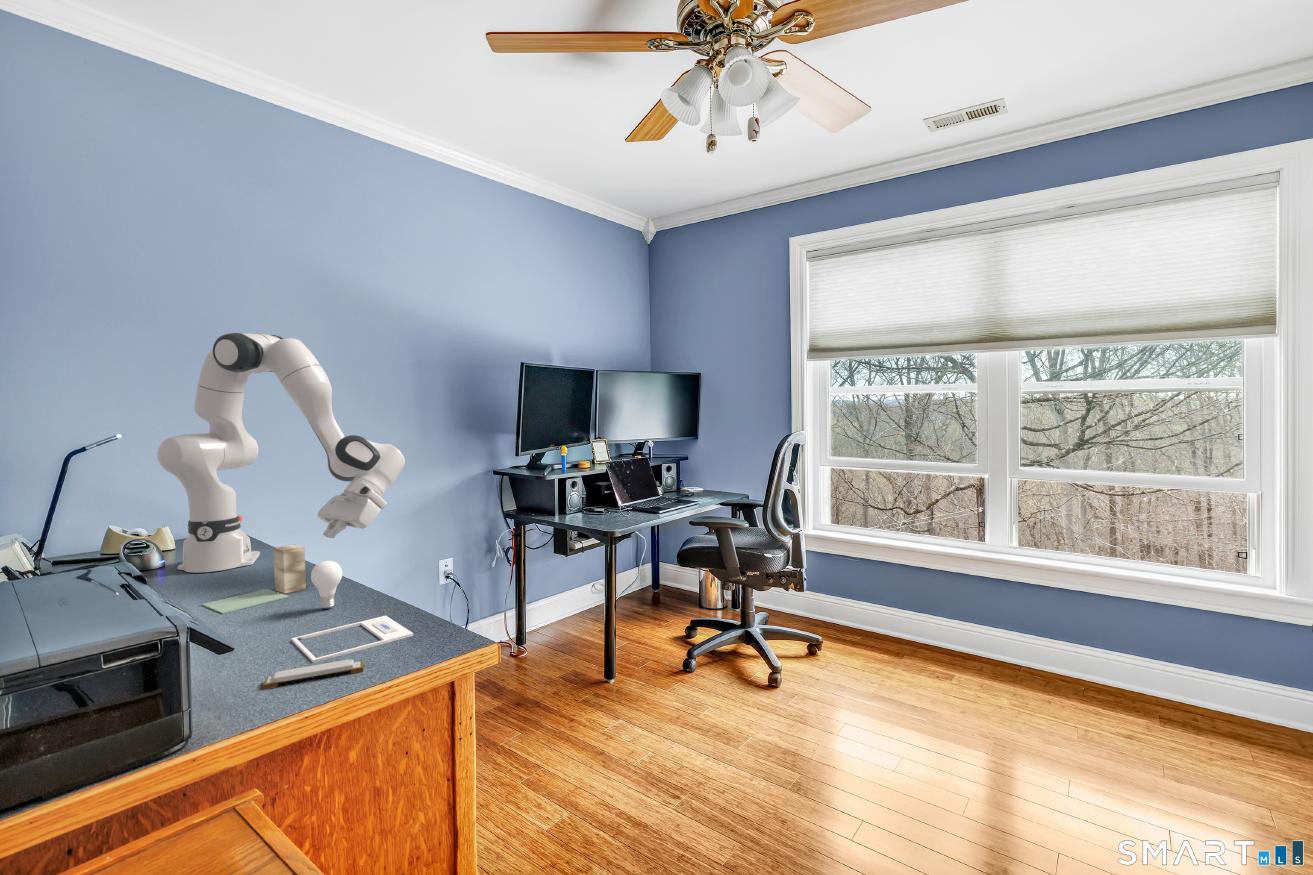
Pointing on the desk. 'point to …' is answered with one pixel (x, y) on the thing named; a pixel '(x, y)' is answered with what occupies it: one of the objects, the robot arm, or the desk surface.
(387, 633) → the photo frame
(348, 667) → the harmonica
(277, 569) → the birch block
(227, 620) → the desk surface
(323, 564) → the lightbulb
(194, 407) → the robot arm
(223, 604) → the mat
